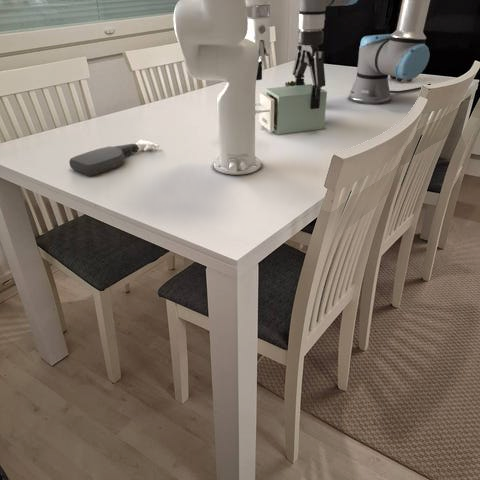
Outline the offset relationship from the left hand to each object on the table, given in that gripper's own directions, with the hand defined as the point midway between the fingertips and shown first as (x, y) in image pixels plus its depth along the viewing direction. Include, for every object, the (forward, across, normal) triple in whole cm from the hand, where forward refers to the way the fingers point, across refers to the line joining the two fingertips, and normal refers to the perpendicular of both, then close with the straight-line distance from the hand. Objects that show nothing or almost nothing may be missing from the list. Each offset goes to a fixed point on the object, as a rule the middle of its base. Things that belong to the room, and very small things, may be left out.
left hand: (256, 79), depth 135 cm
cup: (+16, +24, -24) cm, 37 cm away
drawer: (+15, 0, -8) cm, 17 cm away
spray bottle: (+16, -10, +45) cm, 48 cm away
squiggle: (+16, +43, -84) cm, 96 cm away
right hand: (+9, 0, -17) cm, 20 cm away
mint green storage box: (+16, 0, -13) cm, 21 cm away
